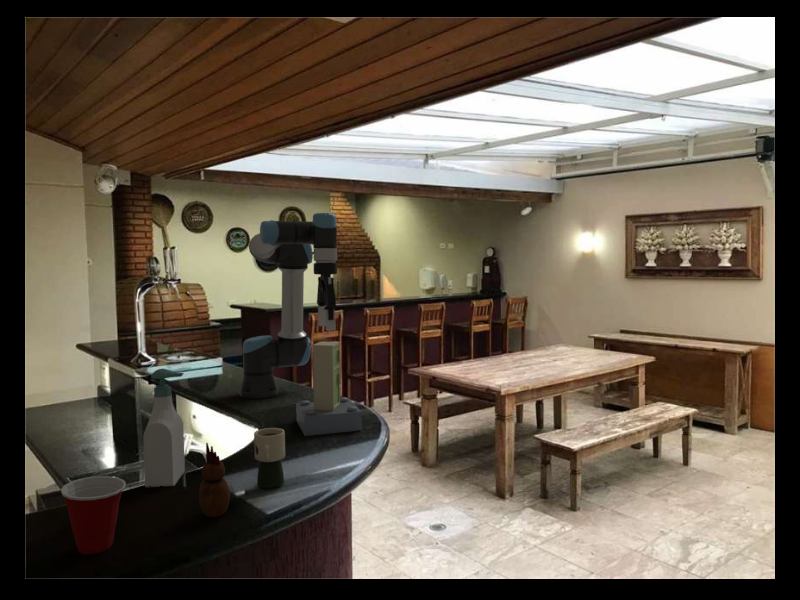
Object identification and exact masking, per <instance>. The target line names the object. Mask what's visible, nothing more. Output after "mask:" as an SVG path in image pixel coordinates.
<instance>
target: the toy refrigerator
mask: <svg viewBox="0 0 800 600" xmlns="http://www.w3.org/2000/svg"><path fill="white" fill-rule="evenodd" d="M340 348H341V347H340V341H318V342H316V343H314V344H313V345H312V361H313V362H312V363H313V364H312V367H313V368H312V369H313V371H312V372H313V373H312V374H313V375H312V376H313V379H312V381H313V384H312V385H313V402H314V410H325V411H334V410H335V409H336V408H337V407H338V406H339V405H340V398H341V370H340V369H341V367H340V366H341V365H340V364H341V349H340Z"/></svg>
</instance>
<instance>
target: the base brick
mask: <svg viewBox="0 0 800 600" xmlns="http://www.w3.org/2000/svg"><path fill="white" fill-rule="evenodd" d="M295 405H296V408H295V409H296V410H295V411H296V422H297V424H298V427H299V428H300V430H301V432H302V433H303V435H304V437H309V436H317V435H327V434H328V435H329V434H337V433H338V434H339V433H347V432H358V431H359V430H360V431H363V418H362V417H363V416H362V415H363V412H362V410H361V409H360V408H359V407H358V406H357V405H355V403H354V402H353V401H351V399H349V398H348V397H345V396H344V397H340V405H339V406H338V407H337V408H336V409H335V410H334V411H325V410H314V401H310V400H300V401H299V402H297V403H295Z"/></svg>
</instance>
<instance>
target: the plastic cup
mask: <svg viewBox="0 0 800 600" xmlns="http://www.w3.org/2000/svg"><path fill="white" fill-rule="evenodd" d="M126 485H127V483H126V481H125V480H124V479H121V478H120V477H116V476H114V477H113V476H107V475H105V476H104V475H102V476H89V477H82V478H79V479H75V480H72V481H70V482H68V483H66V484H64V485H63V486H62V487H61V489H60V492H61V495H62V497H63V498H64V502H65V506H66V508H67V512H68V516H69V517H68V518H69V521H70V524H71V530H72V534H73V536H74V539H75V544H76V547H77V548H76V549H77V551H78V552H79V554H82V555H94V554H95V555H96V554H98V553H101V552H104V551H106V550H108V549H109V548H111V547H112V545H113V542H114V538H115V530H116V525H117V520H118V513H119V506H120V500H121V498H122V493H123V491H124V489H125V488H126Z"/></svg>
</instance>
